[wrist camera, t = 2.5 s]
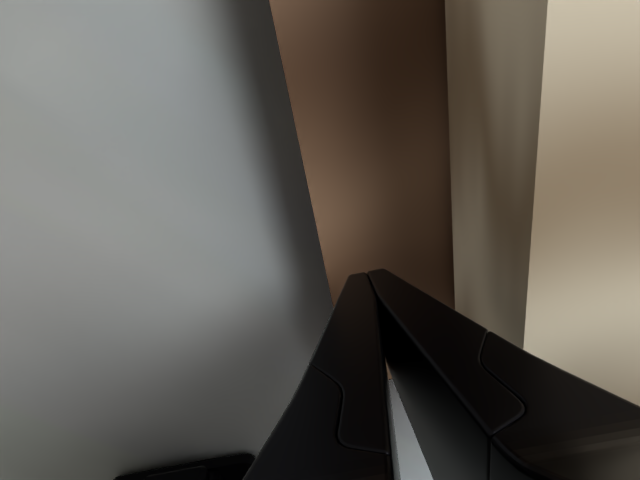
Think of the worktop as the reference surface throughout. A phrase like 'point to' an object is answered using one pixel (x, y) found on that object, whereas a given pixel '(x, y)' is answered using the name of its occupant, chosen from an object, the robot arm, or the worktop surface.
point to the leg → (549, 179)
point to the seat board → (373, 134)
